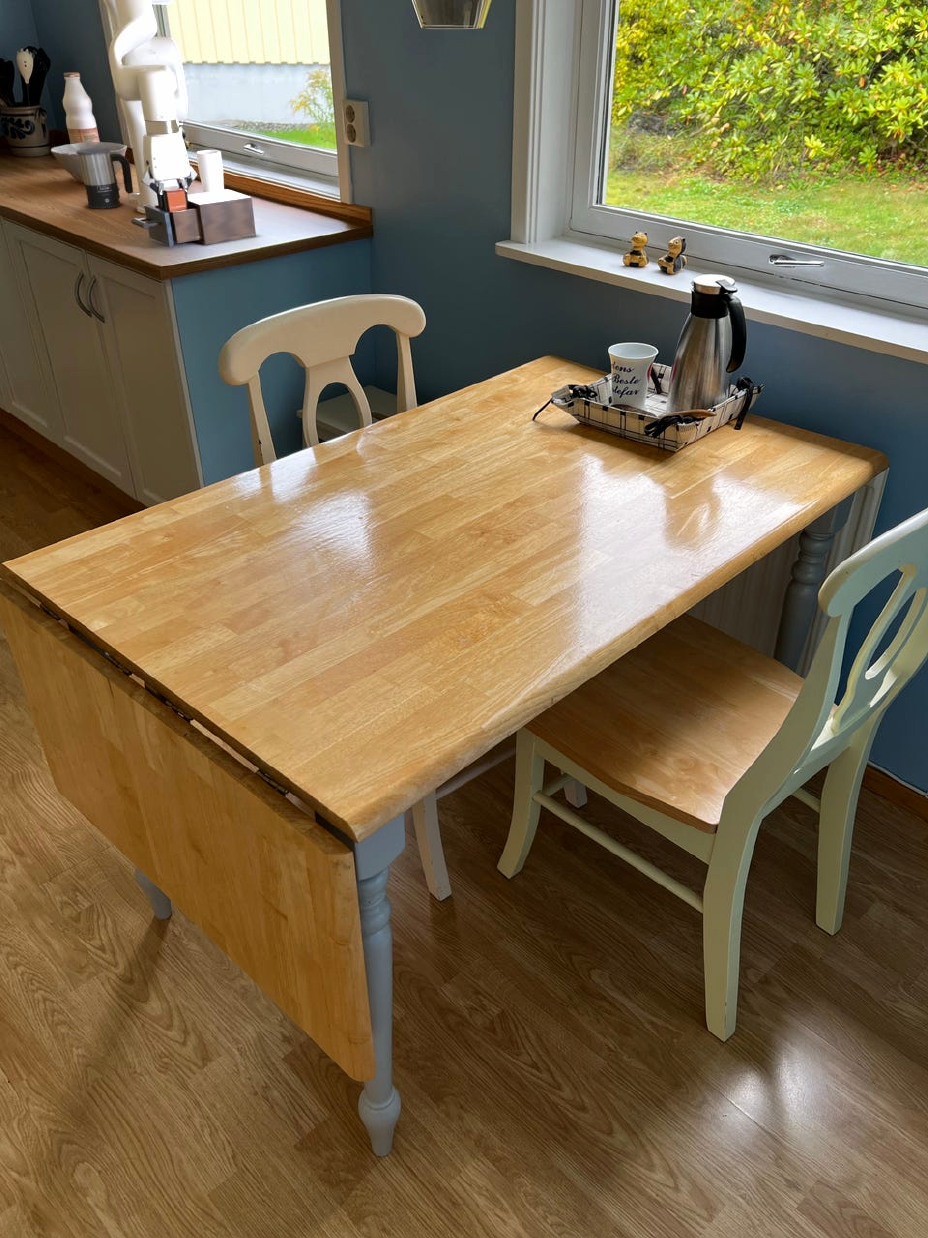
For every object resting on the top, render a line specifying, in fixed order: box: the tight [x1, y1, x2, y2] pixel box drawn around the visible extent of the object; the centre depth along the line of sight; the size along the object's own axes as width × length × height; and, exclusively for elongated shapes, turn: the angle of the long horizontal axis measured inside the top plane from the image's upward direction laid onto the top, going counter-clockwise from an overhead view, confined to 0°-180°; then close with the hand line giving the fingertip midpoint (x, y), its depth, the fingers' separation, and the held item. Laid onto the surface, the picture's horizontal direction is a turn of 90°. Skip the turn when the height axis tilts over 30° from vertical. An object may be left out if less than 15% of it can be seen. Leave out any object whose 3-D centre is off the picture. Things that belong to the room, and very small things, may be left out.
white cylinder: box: [196, 149, 225, 193], centre depth 274 cm, size 7×7×15 cm
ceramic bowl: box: [50, 141, 128, 183], centre depth 307 cm, size 22×23×10 cm
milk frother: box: [76, 148, 134, 210], centre depth 280 cm, size 14×16×15 cm
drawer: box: [130, 204, 203, 248], centre depth 243 cm, size 18×11×8 cm, turn 130°
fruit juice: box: [62, 71, 100, 144], centre depth 324 cm, size 9×9×28 cm
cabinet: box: [187, 189, 257, 246], centre depth 250 cm, size 15×13×10 cm
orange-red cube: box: [164, 186, 187, 213], centre depth 240 cm, size 5×5×5 cm
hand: (174, 208), depth 242 cm, fingers closed on orange-red cube, 4 cm apart
